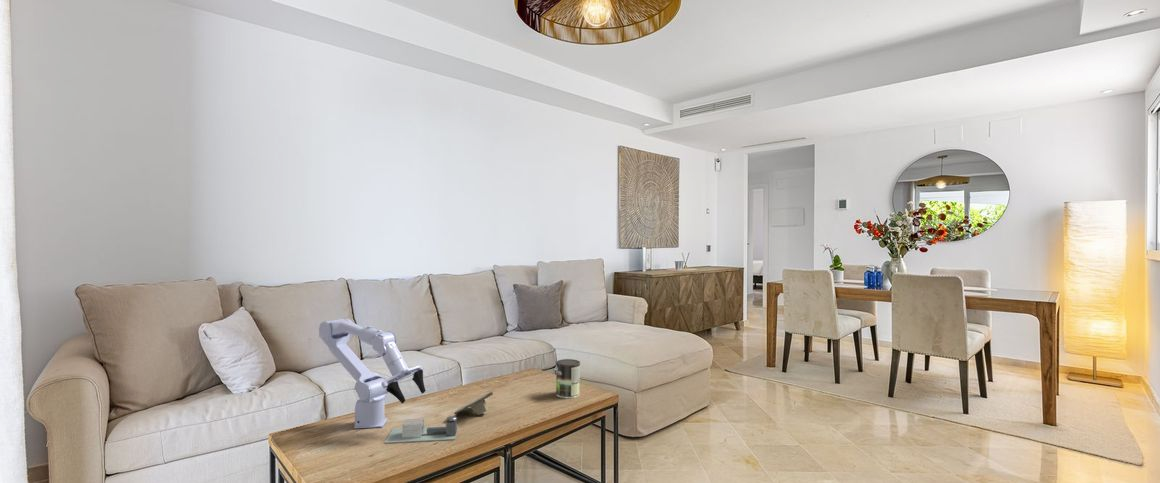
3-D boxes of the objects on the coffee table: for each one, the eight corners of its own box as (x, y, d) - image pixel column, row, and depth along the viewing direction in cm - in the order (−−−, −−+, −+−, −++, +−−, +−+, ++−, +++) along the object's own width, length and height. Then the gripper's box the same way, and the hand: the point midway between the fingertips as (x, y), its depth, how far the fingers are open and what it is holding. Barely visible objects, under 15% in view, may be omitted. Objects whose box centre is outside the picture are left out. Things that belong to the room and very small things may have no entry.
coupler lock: (402, 438, 158) (402, 424, 158) (405, 432, 163) (405, 419, 163) (421, 437, 159) (421, 423, 159) (423, 431, 164) (423, 418, 164)
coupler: (425, 437, 160) (426, 421, 160) (428, 431, 165) (428, 416, 165) (455, 435, 161) (455, 420, 161) (457, 430, 166) (457, 414, 166)
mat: (384, 443, 155) (384, 442, 155) (393, 429, 167) (393, 428, 167) (454, 440, 159) (454, 438, 159) (458, 426, 170) (458, 425, 170)
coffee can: (559, 399, 200) (559, 365, 200) (553, 392, 210) (553, 359, 210) (582, 397, 203) (583, 364, 203) (575, 390, 213) (576, 358, 213)
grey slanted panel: (462, 435, 172) (494, 407, 174) (447, 415, 174) (479, 388, 175) (473, 425, 189) (503, 399, 190) (460, 407, 190) (489, 382, 191)
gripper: (379, 366, 159) (398, 402, 156) (417, 350, 170) (436, 383, 167) (373, 375, 164) (391, 410, 160) (411, 359, 175) (429, 391, 171)
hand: (414, 397), depth 164 cm, fingers open, 7 cm apart
